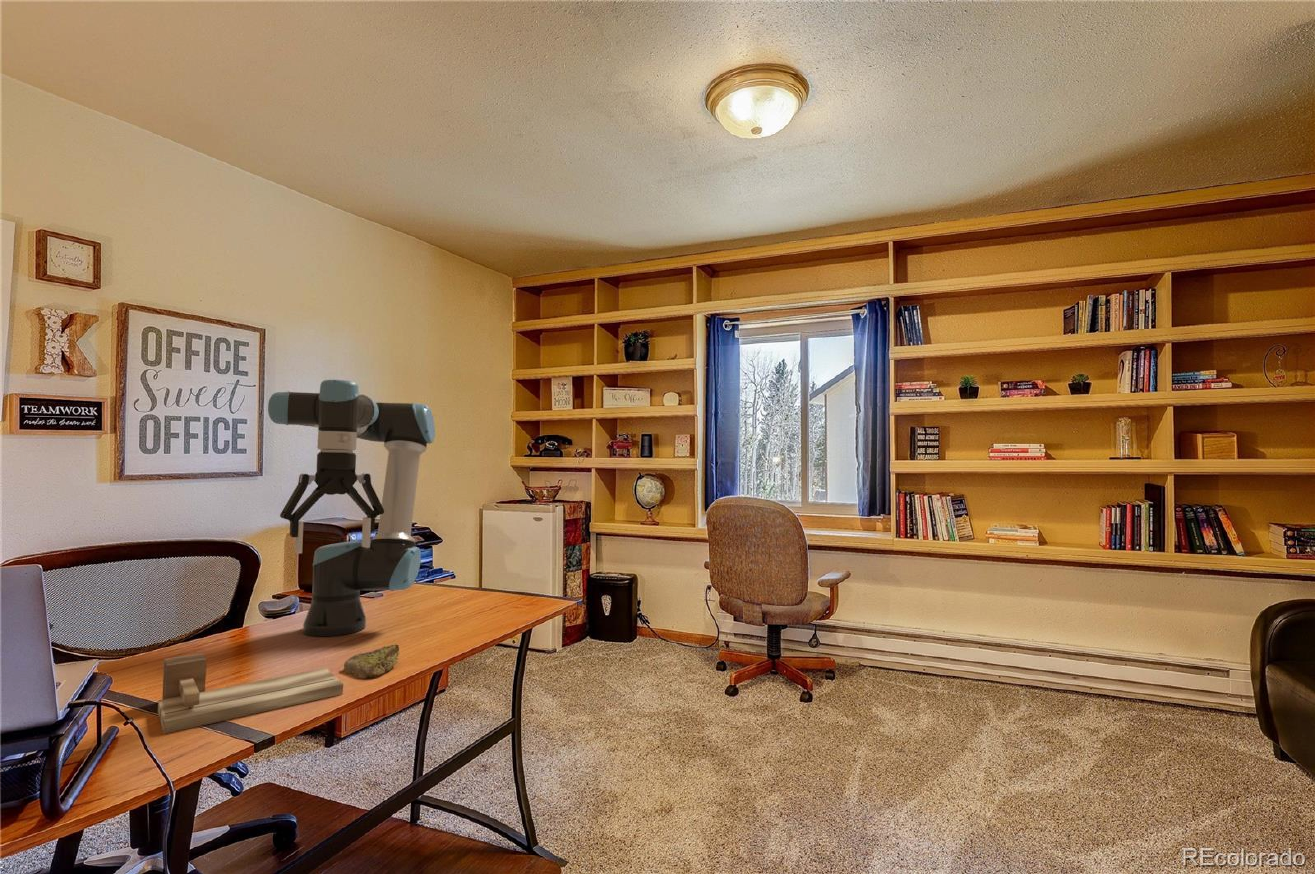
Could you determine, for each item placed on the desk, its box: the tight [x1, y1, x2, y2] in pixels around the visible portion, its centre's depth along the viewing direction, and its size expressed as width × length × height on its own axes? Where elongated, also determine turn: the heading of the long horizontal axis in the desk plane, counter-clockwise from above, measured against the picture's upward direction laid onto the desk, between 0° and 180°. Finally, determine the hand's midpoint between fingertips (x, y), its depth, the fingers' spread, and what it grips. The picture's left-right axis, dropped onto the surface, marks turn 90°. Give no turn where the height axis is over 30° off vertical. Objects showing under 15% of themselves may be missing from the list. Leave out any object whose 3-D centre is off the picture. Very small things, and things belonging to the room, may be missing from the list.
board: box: [157, 667, 344, 735], centre depth 118 cm, size 12×28×2 cm, turn 133°
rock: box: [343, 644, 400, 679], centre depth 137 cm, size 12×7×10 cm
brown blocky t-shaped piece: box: [161, 652, 207, 708], centre depth 114 cm, size 15×6×8 cm, turn 43°
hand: (333, 549), depth 134 cm, fingers open, 13 cm apart
